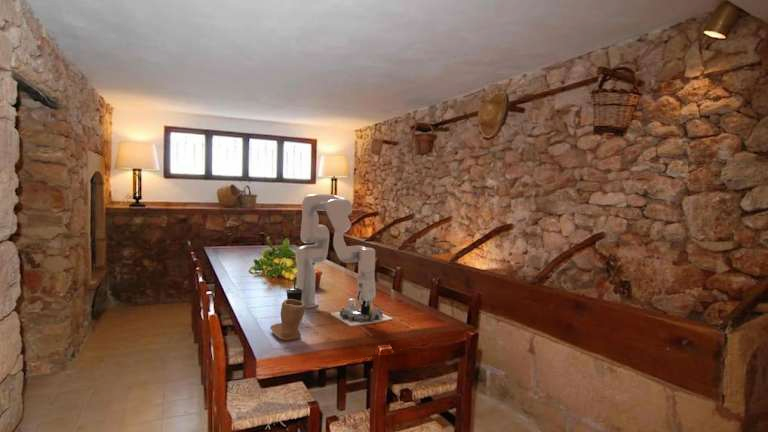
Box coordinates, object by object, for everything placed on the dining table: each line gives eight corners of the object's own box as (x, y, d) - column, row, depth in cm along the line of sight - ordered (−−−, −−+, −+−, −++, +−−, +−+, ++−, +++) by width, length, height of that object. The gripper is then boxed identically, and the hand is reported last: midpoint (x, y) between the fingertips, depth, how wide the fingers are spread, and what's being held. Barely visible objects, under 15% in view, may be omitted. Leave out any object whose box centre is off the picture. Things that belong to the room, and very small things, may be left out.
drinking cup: (287, 322, 193) (288, 279, 192) (283, 317, 200) (284, 275, 199) (304, 320, 196) (305, 278, 195) (299, 316, 203) (300, 274, 202)
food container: (294, 285, 267) (294, 268, 266) (319, 284, 272) (320, 268, 271) (296, 291, 252) (297, 273, 251) (323, 290, 257) (324, 273, 256)
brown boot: (308, 339, 172) (309, 303, 171) (279, 343, 166) (280, 306, 166) (296, 328, 185) (297, 294, 185) (269, 331, 180) (270, 297, 179)
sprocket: (352, 324, 191) (353, 304, 190) (332, 312, 208) (333, 294, 208) (390, 318, 202) (391, 299, 202) (368, 307, 219) (369, 290, 219)
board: (350, 326, 190) (350, 325, 190) (330, 314, 208) (330, 313, 208) (392, 319, 203) (393, 318, 203) (370, 308, 220) (370, 307, 220)
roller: (350, 310, 217) (350, 300, 216) (346, 308, 220) (346, 298, 220) (357, 309, 219) (357, 299, 219) (353, 307, 222) (353, 297, 222)
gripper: (365, 278, 185) (364, 320, 186) (381, 273, 198) (379, 311, 199) (350, 276, 188) (349, 317, 189) (367, 271, 201) (365, 309, 202)
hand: (365, 314), depth 194 cm, fingers closed
